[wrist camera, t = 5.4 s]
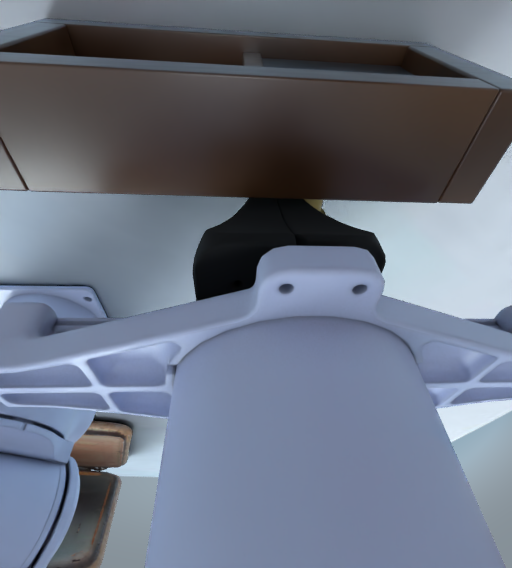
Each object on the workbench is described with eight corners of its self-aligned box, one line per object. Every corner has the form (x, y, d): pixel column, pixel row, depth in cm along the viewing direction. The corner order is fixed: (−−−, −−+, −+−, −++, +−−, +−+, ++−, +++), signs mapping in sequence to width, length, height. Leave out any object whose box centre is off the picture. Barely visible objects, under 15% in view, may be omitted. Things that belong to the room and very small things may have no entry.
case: (-4, 453, 49) (-74, 592, 38) (-45, 404, 35) (-174, 601, 24) (127, 459, 55) (99, 582, 44) (136, 419, 41) (99, 586, 30)
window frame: (395, 126, 15) (472, 204, 10) (76, 112, 14) (-14, 190, 9) (426, 42, 12) (546, 91, 7) (43, 18, 11) (-102, 55, 6)
